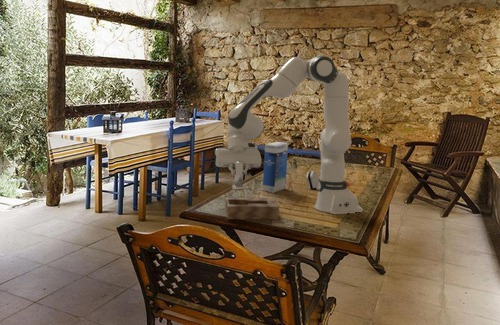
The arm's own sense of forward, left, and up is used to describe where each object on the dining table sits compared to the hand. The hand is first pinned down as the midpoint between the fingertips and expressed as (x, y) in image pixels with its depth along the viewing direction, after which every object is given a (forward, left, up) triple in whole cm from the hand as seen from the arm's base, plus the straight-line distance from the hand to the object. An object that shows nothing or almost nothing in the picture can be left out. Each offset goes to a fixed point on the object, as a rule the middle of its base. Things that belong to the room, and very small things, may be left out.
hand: (239, 174), depth 186 cm
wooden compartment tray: (-6, 0, -18) cm, 19 cm away
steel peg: (0, -1, -7) cm, 7 cm away
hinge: (-50, -54, -19) cm, 76 cm away
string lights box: (-25, -45, -18) cm, 55 cm away
